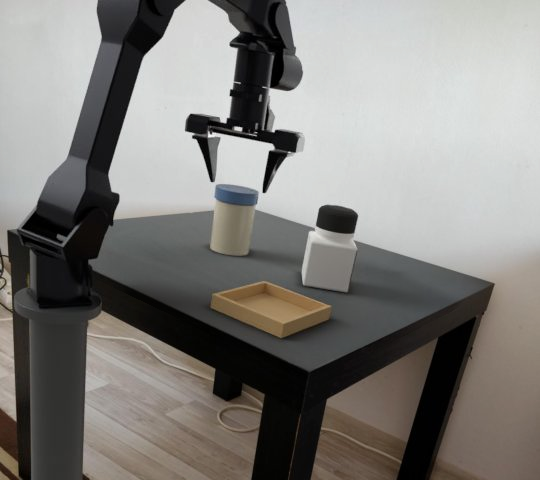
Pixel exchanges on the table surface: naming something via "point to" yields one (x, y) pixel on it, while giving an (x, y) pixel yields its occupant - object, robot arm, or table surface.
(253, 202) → the jar lid
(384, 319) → the table surface
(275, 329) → the tray
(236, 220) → the jar
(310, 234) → the medicine bottle
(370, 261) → the table surface
